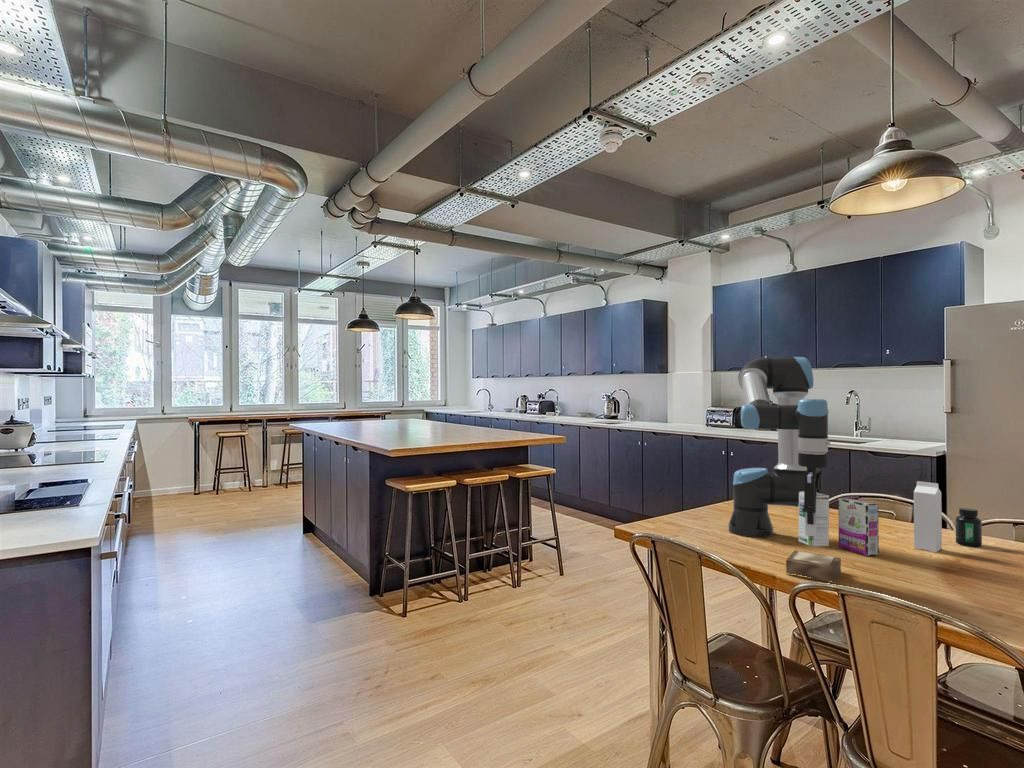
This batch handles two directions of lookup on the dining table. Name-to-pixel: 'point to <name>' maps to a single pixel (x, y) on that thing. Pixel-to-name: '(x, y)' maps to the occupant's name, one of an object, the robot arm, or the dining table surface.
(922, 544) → the milk
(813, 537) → the syrup box
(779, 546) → the dining table surface
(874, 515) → the candy bar box
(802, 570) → the plinth
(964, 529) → the supplement bottle
